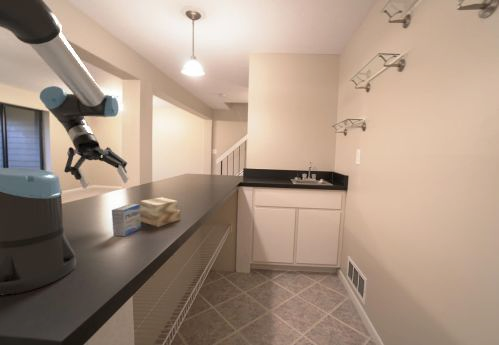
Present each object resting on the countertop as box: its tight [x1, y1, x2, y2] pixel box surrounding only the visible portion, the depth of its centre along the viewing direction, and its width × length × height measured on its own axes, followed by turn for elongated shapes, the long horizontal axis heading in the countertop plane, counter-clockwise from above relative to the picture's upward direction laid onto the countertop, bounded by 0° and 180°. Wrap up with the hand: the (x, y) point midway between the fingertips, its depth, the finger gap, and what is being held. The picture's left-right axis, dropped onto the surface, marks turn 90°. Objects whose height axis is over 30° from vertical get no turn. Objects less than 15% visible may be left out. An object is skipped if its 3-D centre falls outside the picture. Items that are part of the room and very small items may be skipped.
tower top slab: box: [139, 196, 179, 216], centre depth 89 cm, size 9×11×4 cm
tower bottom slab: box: [140, 209, 181, 228], centre depth 90 cm, size 10×12×4 cm
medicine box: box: [111, 203, 142, 237], centre depth 77 cm, size 8×4×9 cm, turn 168°
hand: (107, 183), depth 82 cm, fingers open, 13 cm apart
